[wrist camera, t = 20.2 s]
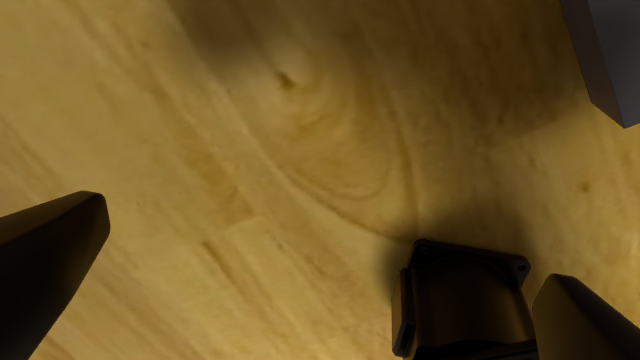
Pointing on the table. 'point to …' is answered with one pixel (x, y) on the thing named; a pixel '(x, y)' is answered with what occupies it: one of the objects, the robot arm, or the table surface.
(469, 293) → the robot arm
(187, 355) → the table surface
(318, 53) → the table surface
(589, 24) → the dark gray flat block
